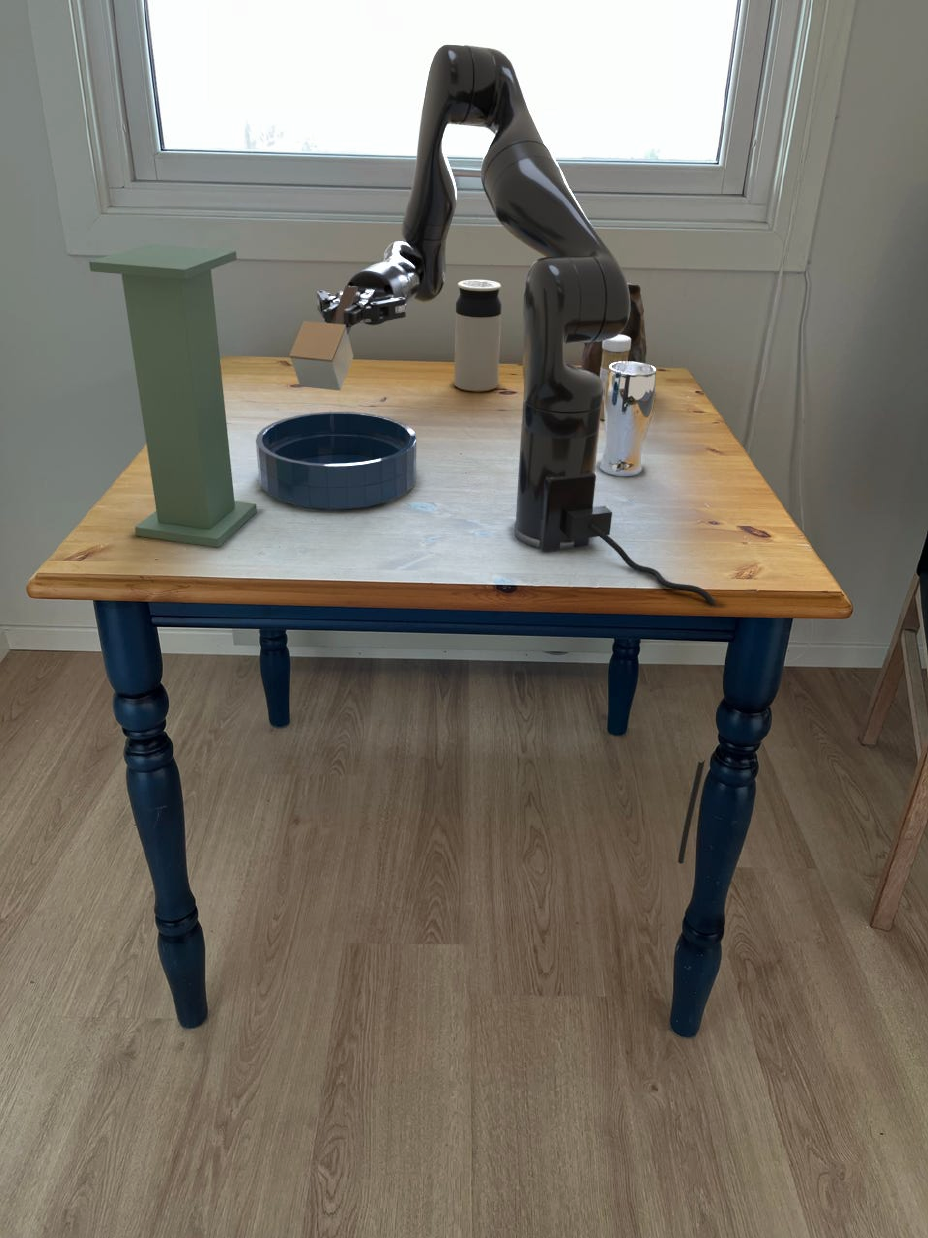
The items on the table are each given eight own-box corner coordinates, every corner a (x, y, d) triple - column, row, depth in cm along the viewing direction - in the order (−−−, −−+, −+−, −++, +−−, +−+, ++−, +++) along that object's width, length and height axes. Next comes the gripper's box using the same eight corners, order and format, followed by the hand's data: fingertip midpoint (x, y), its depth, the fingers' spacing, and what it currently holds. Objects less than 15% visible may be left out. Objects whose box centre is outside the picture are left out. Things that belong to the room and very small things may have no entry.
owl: (638, 406, 166) (653, 287, 156) (567, 398, 168) (577, 281, 158) (646, 386, 176) (660, 274, 166) (579, 379, 179) (589, 268, 169)
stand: (182, 500, 126) (148, 243, 109) (258, 510, 124) (236, 250, 107) (133, 537, 116) (88, 261, 99) (216, 549, 113) (184, 269, 97)
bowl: (435, 503, 127) (436, 457, 124) (273, 521, 121) (270, 473, 118) (392, 448, 145) (392, 406, 141) (249, 461, 138) (245, 418, 135)
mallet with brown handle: (336, 298, 129) (327, 265, 125) (375, 301, 128) (367, 269, 124) (299, 386, 122) (288, 355, 117) (340, 390, 121) (331, 359, 116)
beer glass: (616, 456, 144) (627, 358, 137) (653, 469, 140) (668, 368, 132) (587, 467, 140) (597, 366, 132) (625, 481, 136) (638, 377, 128)
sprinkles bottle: (627, 418, 160) (637, 338, 153) (607, 423, 158) (616, 341, 151) (609, 411, 163) (618, 331, 156) (589, 415, 161) (597, 334, 154)
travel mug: (474, 395, 169) (477, 290, 160) (445, 384, 174) (447, 282, 165) (506, 387, 173) (511, 285, 164) (477, 377, 178) (481, 277, 169)
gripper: (334, 261, 137) (286, 284, 123) (425, 268, 135) (387, 293, 120) (336, 314, 141) (290, 343, 127) (425, 322, 138) (388, 352, 124)
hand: (337, 318), depth 123 cm, fingers closed on mallet with brown handle
